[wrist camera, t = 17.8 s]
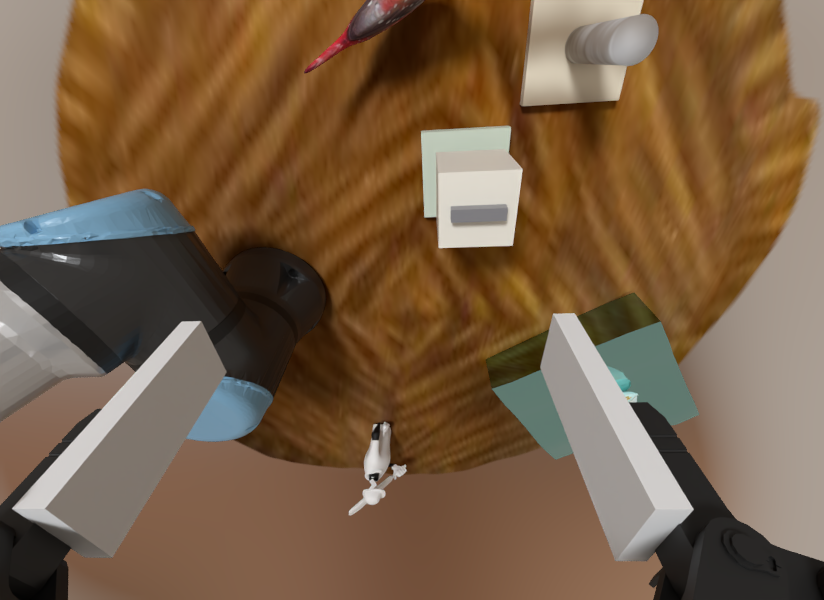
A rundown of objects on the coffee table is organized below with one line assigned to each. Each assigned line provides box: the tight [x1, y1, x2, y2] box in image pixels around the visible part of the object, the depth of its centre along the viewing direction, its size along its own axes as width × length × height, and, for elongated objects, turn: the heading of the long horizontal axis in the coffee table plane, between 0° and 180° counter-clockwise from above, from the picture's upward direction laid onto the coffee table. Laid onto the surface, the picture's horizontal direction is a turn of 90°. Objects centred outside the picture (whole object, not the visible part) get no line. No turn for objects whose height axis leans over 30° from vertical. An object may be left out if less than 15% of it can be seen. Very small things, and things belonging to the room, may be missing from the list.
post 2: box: [520, 0, 658, 106], centre depth 30 cm, size 10×10×12 cm
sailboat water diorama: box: [486, 293, 699, 459], centre depth 55 cm, size 25×25×16 cm
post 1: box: [421, 126, 511, 217], centre depth 37 cm, size 10×10×12 cm
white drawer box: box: [436, 149, 523, 248], centre depth 35 cm, size 7×7×9 cm
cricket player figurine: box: [349, 422, 407, 515], centre depth 67 cm, size 13×10×15 cm
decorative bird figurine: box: [304, 0, 425, 73], centre depth 30 cm, size 3×18×10 cm, turn 122°
